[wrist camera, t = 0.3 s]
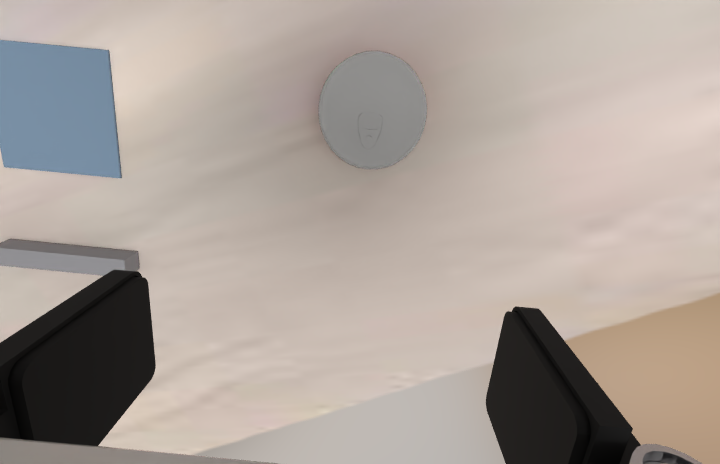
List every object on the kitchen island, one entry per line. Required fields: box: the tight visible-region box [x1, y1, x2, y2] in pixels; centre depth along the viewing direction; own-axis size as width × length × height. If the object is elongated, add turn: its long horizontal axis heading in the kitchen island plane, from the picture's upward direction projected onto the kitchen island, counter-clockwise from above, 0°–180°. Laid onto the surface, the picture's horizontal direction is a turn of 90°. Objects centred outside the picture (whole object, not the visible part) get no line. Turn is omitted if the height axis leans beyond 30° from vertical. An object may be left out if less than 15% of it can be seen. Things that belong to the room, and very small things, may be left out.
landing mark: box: [0, 40, 122, 178], centre depth 39 cm, size 12×12×1 cm
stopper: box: [0, 239, 139, 276], centre depth 43 cm, size 2×14×2 cm, turn 85°
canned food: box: [318, 51, 427, 169], centre depth 33 cm, size 8×8×11 cm
